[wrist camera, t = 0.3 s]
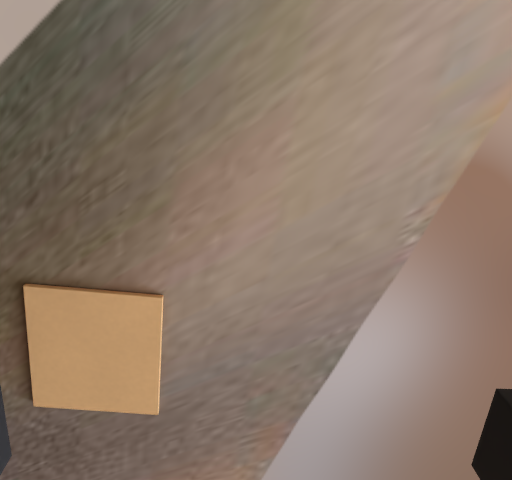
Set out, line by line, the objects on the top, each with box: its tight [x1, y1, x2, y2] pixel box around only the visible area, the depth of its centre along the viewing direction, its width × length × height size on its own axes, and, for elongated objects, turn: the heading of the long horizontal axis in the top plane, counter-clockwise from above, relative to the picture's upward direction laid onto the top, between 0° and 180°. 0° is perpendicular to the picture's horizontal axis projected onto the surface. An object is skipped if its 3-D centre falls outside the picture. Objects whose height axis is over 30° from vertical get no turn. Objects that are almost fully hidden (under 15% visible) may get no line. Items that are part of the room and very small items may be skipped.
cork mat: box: [23, 284, 163, 415], centre depth 38 cm, size 12×11×1 cm
